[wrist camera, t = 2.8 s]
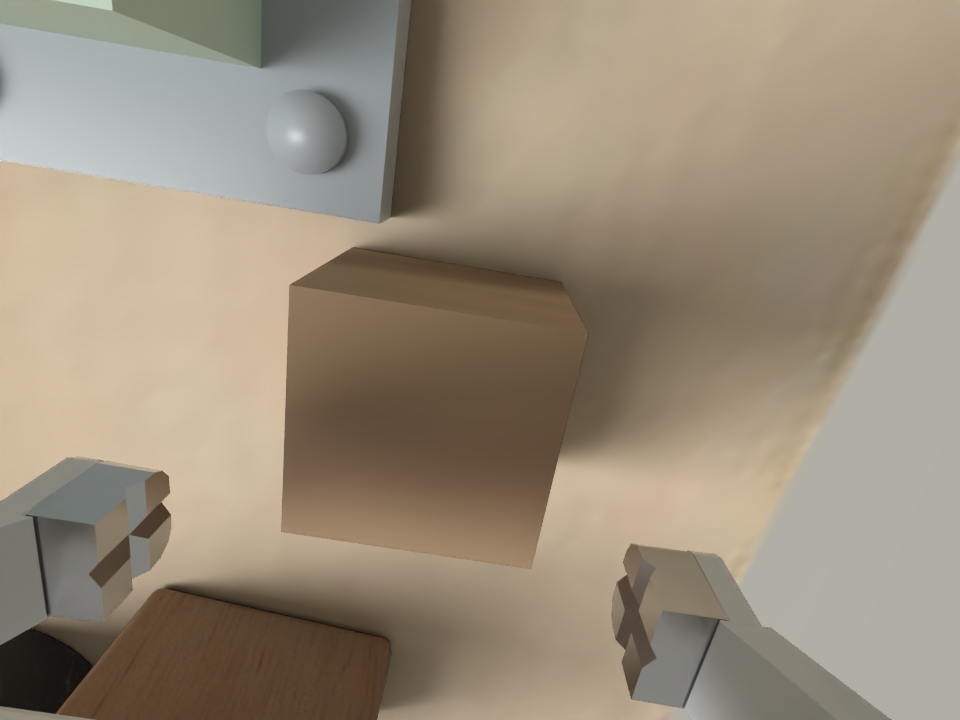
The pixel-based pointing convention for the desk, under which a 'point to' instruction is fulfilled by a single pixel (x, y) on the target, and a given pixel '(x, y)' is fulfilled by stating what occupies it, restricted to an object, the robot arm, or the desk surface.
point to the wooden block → (231, 667)
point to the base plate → (222, 109)
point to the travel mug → (38, 672)
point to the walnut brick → (426, 405)
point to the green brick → (151, 24)
